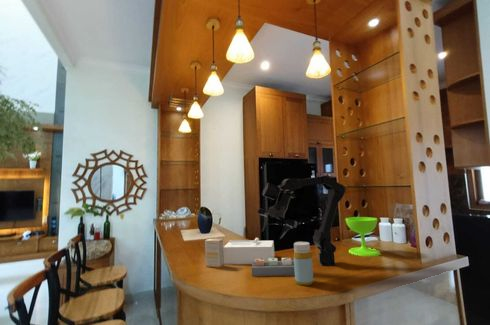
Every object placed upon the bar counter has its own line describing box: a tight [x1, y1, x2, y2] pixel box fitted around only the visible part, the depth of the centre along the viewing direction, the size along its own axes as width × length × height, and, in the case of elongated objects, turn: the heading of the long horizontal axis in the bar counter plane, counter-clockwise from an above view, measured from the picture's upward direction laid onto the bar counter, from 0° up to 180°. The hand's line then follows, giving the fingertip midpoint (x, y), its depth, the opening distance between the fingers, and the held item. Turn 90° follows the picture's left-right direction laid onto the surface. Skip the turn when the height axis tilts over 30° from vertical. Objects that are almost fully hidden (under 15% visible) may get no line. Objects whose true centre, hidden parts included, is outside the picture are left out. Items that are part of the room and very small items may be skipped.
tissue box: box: [223, 237, 275, 265], centre depth 131 cm, size 14×25×11 cm, turn 79°
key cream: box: [281, 257, 292, 265], centre depth 109 cm, size 4×4×2 cm
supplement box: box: [204, 238, 225, 269], centre depth 123 cm, size 8×5×13 cm, turn 65°
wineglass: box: [345, 216, 382, 258], centre depth 134 cm, size 16×16×18 cm
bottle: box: [293, 241, 314, 287], centre depth 97 cm, size 7×7×15 cm
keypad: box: [251, 260, 295, 277], centre depth 109 cm, size 19×9×4 cm, turn 85°
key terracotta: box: [255, 258, 264, 266], centre depth 110 cm, size 4×4×2 cm
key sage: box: [268, 257, 279, 266], centre depth 110 cm, size 4×4×2 cm
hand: (270, 235), depth 114 cm, fingers open, 9 cm apart
